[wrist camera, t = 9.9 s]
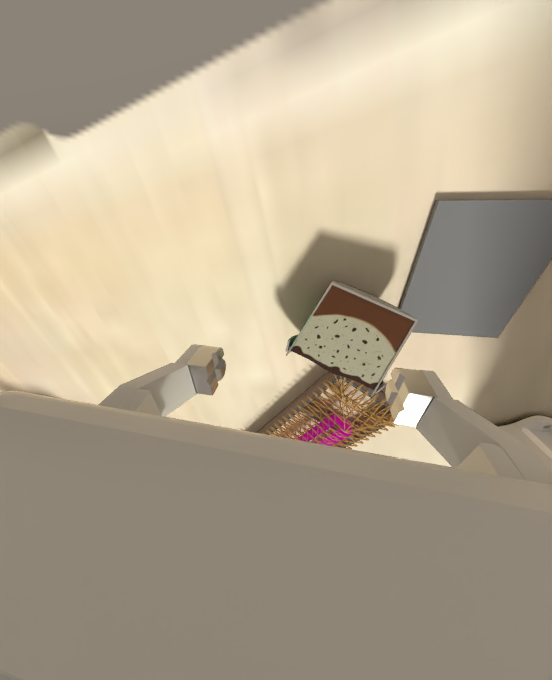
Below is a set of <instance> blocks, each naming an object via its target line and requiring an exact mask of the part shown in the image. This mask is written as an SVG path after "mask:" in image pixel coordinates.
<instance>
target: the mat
mask: <svg viewBox="0 0 552 680" xmlns="http://www.w3.org/2000/svg"><path fill="white" fill-rule="evenodd" d="M551 259H552V199H539V200H450V201H436V202H435V205H434V208H433V210H432V213H431V216H430V219H429V222H428V225H427V228H426V231H425V234H424V237H423V240H422V243H421V245H420V248H419V251H418V254H417V257H416V260H415V263H414V266H413V269H412V272H411V275H410V278H409V281H408V283H407V286H406V289H405V292H404V295H403V298H402V301H401V304H400V307H399V309H401V310H403V311H405V312H406V313H408V314H410V315H412V316H413V317H415V318H416V319H418V320H419V321H418V322H417V324H416V326H415V327H414V329H413V331H412V332H415V333H431V334H446V335H462V336H477V337H493V338H498V337H499V335H500V334H501V333H502V331H503V330H504V328H505V327H506V325H507V324H508V322H509V321H510V319H511V318H512V316H513V315H514V314H515V312H516V311H517V309H518V308H519V306H520V305H521V303H522V302H523V300H524V299H525V297H526V296H527V294H528V293H529V292H530V290H531V289H532V287H533V286H534V284H535V283H536V281H537V280H538V278H539V277H540V275H541V274H542V273H543V271H544V270H545V268H546V267H547V265H548V264H549V262H550V261H551Z"/></svg>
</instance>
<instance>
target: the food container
mask: <svg viewBox="0 0 552 680" xmlns="http://www.w3.org/2000/svg"><path fill="white" fill-rule="evenodd" d="M418 321H419V320H418V319H416V318H415V317H413V316H412V315H410V314H408V313H406V312H405V311H403V310H401V309H399V308H397V307H395V306H393V305H391V304H389V303H387V302H385V301H383V300H381V299H379V298H377V297H375V296H373V295H370V294H368V293H366V292H363V291H361V290H359V289H356V288H354V287H351V286H349V285H346V284H343V283H340V282H336V281H332V282H331V284H330V285H329V287H328V288H327V290H326V292H325V293H324V295H323V296H322V298H321V300H320V301H319V303H318V304H317V306H316V307H315V309H314V311H313V312H312V314H311V315H310V317H309V319H308V320H307V322H306V323H305V325H304V327H303V328H302V330H301V331H300V333H299V335H295V336H293V337H291V338H290V339H289V340H288V344H287V348H286V351H287V354H286V356H287V355H288V354H289V353H290V352H291V351H292V352H295V353H297V354H299V355H301V356H303V357H305V358H307V359H309V360H311V361H313V362H314V363H316V364H318V365H319V366H321V367H322V368H324V369H325V370H327V371H329V372H331V373H333V374H336V375H339V376H342V377H345V378H349V379H352V380H354V381H356V382H358V383H361V384H363V385H364V386H366V387H367V389H368V391H369V393H370V395H371V397H372V396H373V394H374V393H376V394H377V393H378V392H379V391H380V390H382V389H383V388H384V387H385V384H384V382H383V378H384V377H385V375H386V373H387V372H388V370H389V368H390V367H391V365H392V364H393V362H394V360H395V359H396V357H397V355H398V354H399V352H400V350H401V349H402V347H403V345H404V344H405V342H406V340H407V339H408V337H409V336H410V334H411V332H412V331H413V329H414V327H415V326H416V324H417V322H418Z"/></svg>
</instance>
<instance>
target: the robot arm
mask: <svg viewBox="0 0 552 680" xmlns="http://www.w3.org/2000/svg"><path fill="white" fill-rule="evenodd" d="M223 355H224V352H223V349H222V348H219V347H212V346H205V345H196V344H194V345H191V346H190V347H189V348H188V349H187V351H186V352H185V353H184V354H183V355H182V356H181V357H180V358H179V359H178V360H177V361H176V362H175V363H170V364H168V365H166V366H163V367H161V368H159V369H156V370H154V371H152V372H150V373H147V374H145V375H143V376H140V377H138V378H136V379H133V380H131V381H129V382H126V383H124V384H122V385H120V386H119V387H118V388H117V389H115V390H114V391H113V392H112V393H111V394H110V395H109V396H108V397H107V398H105V399H104V400H103V401H102V402H101V403H100V404H99V405H95V404H89V403H83V402H78V401H72V400H66V399H61V398H55V397H49V396H43V395H38V394H33V393H28V392H23V391H5V392H1V393H0V680H552V418H549V417H545V416H540V415H538V416H532V417H528V418H525V419H523V420H520V421H518V422H515V423H513V424H509V425H504V426H499V427H497V426H496V425H494V424H493V423H491V422H490V421H488V420H487V419H485V418H484V417H482V416H481V415H479V414H478V413H476V412H475V411H473V410H472V409H470V408H469V407H467V406H466V405H464V404H463V403H461V402H460V401H458V400H453V398H452V397H451V395H450V394H449V392H448V391H447V389H446V388H445V386H444V385H443V383H442V382H441V381H440V379H439V378H438V376H437V375H436V373H435V372H433V371H425V370H411V369H402V368H394V369H393V370H392V373H391V376H392V379H391V380H390V381H388V383H387V385H386V391H385V394H386V399H387V402H388V403H389V404H390V405H391V406H392V407H391V409H390V412H391V415H392V418H393V421H394V423H397V424H403V425H408V426H414V427H416V429H417V430H418V431H419V432H420V433H421V434H422V435H423V436H424V437H425V438H426V439H427V440H428V441H429V442H430V444H431V445H432V446H433V447H434V448H435V449H436V450H437V451H438V452H439V453H440V454H441V455H442V456H443V457H444V459H445V460H446V461H447V462H448V463H449V464H450V465H451V466H452V467H447V466H442V465H436V464H430V463H425V462H419V461H413V460H408V459H402V458H396V457H391V456H385V455H379V454H374V453H368V452H362V451H356V450H351V449H345V448H339V447H334V446H328V445H322V444H317V443H311V442H305V441H300V440H294V439H288V438H283V437H277V436H271V435H266V434H260V433H254V432H248V431H243V430H237V429H231V428H226V427H220V426H214V425H209V424H203V423H197V422H192V421H186V420H180V419H175V418H169V417H165V416H167V415H168V414H169V413H171V412H172V411H174V410H175V409H176V408H178V407H179V406H181V405H182V404H183V403H185V402H186V401H188V400H189V399H190V398H192V397H193V396H195V395H196V393H198V394H206V395H213V394H214V392H215V390H216V389H217V387H218V381H220V380H221V379H222V378H223V376H224V374H225V370H226V364H225V361H224V360H223V358H222V357H223Z"/></svg>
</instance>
